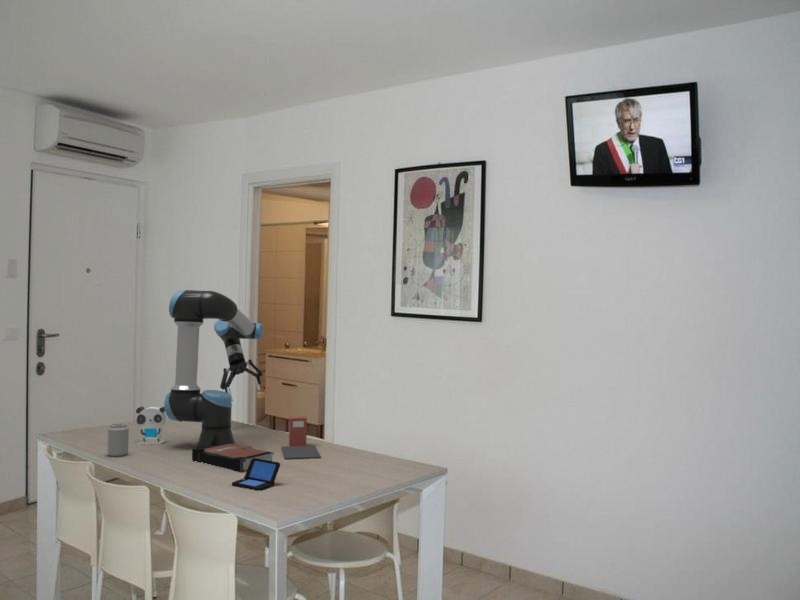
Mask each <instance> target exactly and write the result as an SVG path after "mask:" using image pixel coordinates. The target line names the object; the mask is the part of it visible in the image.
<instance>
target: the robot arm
mask: <svg viewBox="0 0 800 600" xmlns="http://www.w3.org/2000/svg"><path fill="white" fill-rule="evenodd" d="M168 313H169V316H170V317H171V318H172V319H174V320H173V323H174V324H175V325H176V326H177V333H176V334H177V337H176V342H177V343H176V360H175V376H174V377H175V380H174V381H175V382H174V385H173V386H172V387H171V388H170V392H168V393H167V394H166V395H165V399H164V402H163V403H164V405H163V407H165V411H164V412H165V415H166V417H167V418H168V419H169V420H171V421H175V422H176V421H177V422H180V423H182V422H190V423H191V422H193V423H201V430H200V434H199V437H198V441H197V442H196V448H205V447H210V446H215V445H220V444H224V443H229V444H234V445H236V441H235V440H234V435H233V432H232V407H233V404H232V403H233V401H234V399H233V396H232V391H231V387H230V386H231V384H232V382H233V381H234V378H235V377H236V376H237V375H240V374H243V373H244V372H246V373H248V374H250V375H251V376H253V377H254V380H255V385H256V388H257V391H258V392H262V391H261V386H260V384H261V383H262V381H261V377H262V376H263V375H264V373H263V372H262V371H261V370H260V369H259V368H258V367H257V366H256V365H255V364H254V362H253V361H252V359H250V358H249V359H248V361H246V359H245V355H244V351H243V346H242V343H241V340H240V339H247V340H260V339H262V338H263V336H264V332H265V330H264V325H263V323H259V322H253V321H252V320H251V319H250V318H249V317H247V315H246V314H244V313H243V312H242V311H241V310H240V309H239V308H238V306H237V304H236V303H235V302H234V301H233V300H232V299H231V298H229V297H228V296H226V295H224V294H223V293H220V292H218V291H212V290H191V289H190V290H189V289H186V290H185V289H184V290H177V291H176V292H174V293H173V295H172V297H171V298H170V299H169V304H168ZM205 319H206V320H208V319H211V320H217V321H216V322H215V323H214V325H213V330H214V331H215V334H216V335H217V336H218V337H219V338H220V339H221V340H222V341H223V342H222V343H223V344H224V347H225V351H226V356H227V359H228V360H227V361H228V364H229V365H228V366H229V367H228V368H226V367H225V368H223V375H222V379H221V383H220V385H219V388H220V389H221V390H218V389H217V390H216V389H205V390H203V391H201V388H200V386H199V385H198V384H197V383H198V366H199V365H198V363H199V344H200V342H199V341H200V327H201V326H202V325H203V324H204V320H205ZM248 366H251V367H252V369H254V371H256V372H257V373H256V372H254V371H252V370H251V369H249V368H247V367H248ZM223 390H224V391H223Z"/></svg>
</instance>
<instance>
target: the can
mask: <svg viewBox="0 0 800 600" xmlns="http://www.w3.org/2000/svg"><path fill="white" fill-rule="evenodd" d="M129 429H130V428H129V426H128V424H127V423H125V422H117V423H110V425H109V427H108V429H107V454H108V456H110V457H114V456H117V457H121V456H120V455H124V456H126V455H127V454H128V453H129V443H130V442H129V440H130V439H129V438H130V437H129V432H130V431H129ZM125 454H126V455H125Z"/></svg>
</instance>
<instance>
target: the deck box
mask: <svg viewBox="0 0 800 600" xmlns="http://www.w3.org/2000/svg"><path fill="white" fill-rule="evenodd" d="M307 422H308V418H307V416H306V415H305V416H289V419H288V446H307V435H308V434H307V429H308V426H307V425H308V424H307Z"/></svg>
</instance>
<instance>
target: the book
mask: <svg viewBox="0 0 800 600" xmlns="http://www.w3.org/2000/svg"><path fill="white" fill-rule="evenodd" d="M273 455H275V452H272V451H267V450H264V449H258V448H254V447H253V446H251V445H245V446H242V445H237V444H235V445H234V444H229V443H224V444H220V445H215V446H210V447H205V448H197V447H196V448H192V449H191V461H192V460H193V461H192V462H194V461H197V462H196V463H201V462H203V463H202V464H205V463H207V464H206V465H209V464H211V465H210V466H213V465H215V467H218V466H219V468H222V467H223V468H222V469H226V468H227V470H230V469H231V470H230V471H233V472H236V471H237V473H243V472H246V471H245V470H247V469H248V467H249V464H250V461H251V460H252V459H253V458H257V459H262V460H268V461H273ZM242 471H243V472H242Z"/></svg>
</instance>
